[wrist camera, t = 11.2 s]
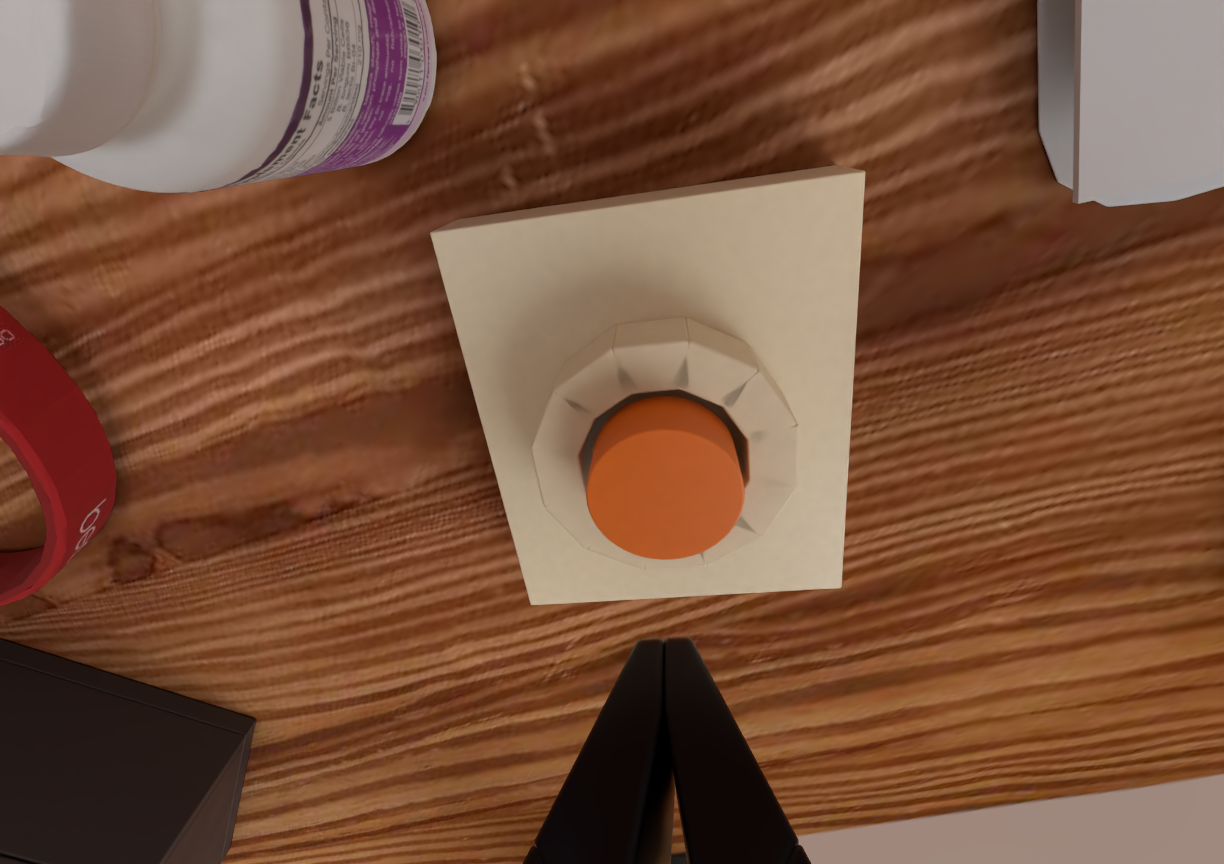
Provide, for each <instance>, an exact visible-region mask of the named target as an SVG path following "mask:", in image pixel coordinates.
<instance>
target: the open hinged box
mask: <svg viewBox="0 0 1224 864" xmlns="http://www.w3.org/2000/svg"><path fill="white" fill-rule="evenodd" d="M255 723H256V719H253V718H250V717H247V716H243V715H240V714H237V713H234V712H231V711H228V710H224V709H221V708H218V707H215V706H212V705H208V704H205V703H202V702H199V701H196V700H193V699H189V698H186V697H183V696H180V695H177V694H174V693H170V692H167V691H164V690H161V689H158V688H154V687H151V686H148V685H145V684H142V683H139V682H135V681H132V680H129V679H126V678H123V677H120V676H116V675H113V674H110V673H107V672H104V671H100V670H97V669H94V668H91V667H88V666H85V665H81V664H78V663H75V662H72V661H69V660H66V659H62V658H59V657H56V656H53V655H50V654H46V653H43V652H40V651H37V650H34V649H31V648H27V647H24V646H21V645H18V644H15V643H12V642H8V641H5V640H2V639H0V856H3V857H7V858H11V859H14V860H18V861H22V862H25V863H29V864H221V862H222V861H223V859H224V857H225V856H226V854H227V852H228V851H229V849H230V846H231V841H232V836H233V831H234V826H235V821H236V816H237V811H238V806H239V801H240V796H241V791H242V787H243V782H244V777H245V772H246V767H247V762H248V757H249V752H250V747H251V742H252V737H253V732H254V727H255Z"/></svg>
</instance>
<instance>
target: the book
mask: <svg viewBox="0 0 1224 864" xmlns="http://www.w3.org/2000/svg"><path fill="white" fill-rule="evenodd" d="M1037 37H1038V124H1039V134H1040V136H1041V139H1042V142H1043V145H1044V147H1045V150H1046V153H1047V155H1048V158H1049V161H1050V164H1051V166H1052V169H1053V172H1054V175H1055V177H1056V180H1057V182H1058V183H1060V184H1062V185H1064V186H1066V187H1068V188H1070V189H1072V190H1073V203H1077V204H1080V203H1084V202H1088V201H1093V200H1094V201H1096V202H1098V203H1100V204H1102V205H1104V206H1106V207H1111V206H1122V205H1133V204H1144V203H1154V202H1165V201H1176V200H1179V199H1183V198H1186V197H1189V196H1193V195H1196V194H1200V193H1203V192H1206V191H1210V190H1213V189H1216V188H1220V187H1223V186H1224V0H1037Z"/></svg>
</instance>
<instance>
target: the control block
mask: <svg viewBox="0 0 1224 864" xmlns="http://www.w3.org/2000/svg"><path fill="white" fill-rule="evenodd" d="M864 187H865V171H862V170H857V169H853V168H848V167H843V166H838V165H834V166H827V167H820V168H813V169H806V170H799V171H792V172H785V173H778V174H771V175H764V176H757V177H750V178H743V179H736V180H729V181H722V182H715V183H708V184H701V185H694V186H687V187H680V188H673V189H666V190H659V191H652V192H645V193H638V194H631V195H624V196H617V197H610V198H603V199H596V200H589V201H582V202H575V203H568V204H561V205H554V206H547V207H540V208H533V209H526V210H519V211H512V212H505V213H498V214H491V215H484V216H477V217H470V218H463V219H458V220H455V221H453V222H451V223H449V224H447V225H445V226H442V227H440V228H438V229H436V230H434V231H432V232H430V235H431V239H432V243H433V246H434V250H435V254H436V257H437V261H438V265H439V268H440V272H441V276H442V279H443V283H444V287H445V290H446V294H447V298H448V302H449V305H450V309H451V313H452V316H453V320H454V324H455V327H456V331H457V335H458V338H459V342H460V346H461V349H462V353H463V357H464V360H465V364H466V368H467V371H468V375H469V379H470V382H471V386H472V390H473V394H474V397H475V401H476V405H477V408H478V412H479V416H480V419H481V423H482V427H483V430H484V434H485V438H486V441H487V445H488V449H489V452H490V456H491V460H492V463H493V467H494V471H495V474H496V478H497V482H498V486H499V489H500V493H501V497H502V500H503V504H504V508H505V511H506V515H507V519H508V522H509V526H510V530H511V533H512V537H513V541H514V544H515V548H516V552H517V555H518V559H519V563H520V566H521V570H522V574H523V578H524V581H525V585H526V589H527V592H528V596H529V600H530V603H531V605H543V604H561V603H579V602H597V601H615V600H633V599H651V598H669V597H687V596H704V595H722V594H740V593H758V592H776V591H794V590H812V589H830V588H841V586H842V569H843V551H844V534H845V516H846V499H847V482H848V464H849V447H850V430H851V412H852V395H853V378H854V360H855V343H856V326H857V308H858V291H859V273H860V256H861V239H862V221H863V204H864ZM655 396H673V397H680V398H685V399H688V400H691V401H694V402H696V403H698V404H701V405H703V406H704V407H706V408H707V409H709V410H711V411H712V412H713V413H714V414H715V415H717V416H718V417H719V418H720V419H721V421H722V422H723V423H724V424H725V426H726V427H727V429H728V430H729V432H730V434H731V437H732V439H733V442H734V446H735V450H736V454H737V458H738V462H739V466H740V470H741V474H742V478H743V482H744V489H745V497H744V504H743V509H742V512H741V514H740V517H739V519H738V521H737V522H736V524H735V526H734V527H733V529H732V530H731V531H730V533H729V534H728V535H727V536H726V537H725V538H724V539H723V540H721V541H720V542H719V543H717V544H716V545H715V546H713V547H711V548H710V549H708V550H706V551H704V552H701V553H699V554H696V555H693V556H690V557H686V558H681V559H672V560H660V559H650V558H645V557H641V556H638V555H635V554H632V553H630V552H627V551H625V550H623V549H622V548H620V547H618V546H616V545H615V544H614V543H612V542H611V541H610V540H609V539H607V538H606V537H605V536H604V535H603V534H602V532H601V531H600V530H599V529H598V528H597V526H596V524H595V523H594V521H593V519H592V517H591V515H590V513H589V509H588V506H587V500H586V486H587V480H588V475H589V470H590V465H591V460H592V454H593V449H594V444H595V441H596V438H597V436H598V434H599V432H600V430H601V428H602V427H603V425H604V424H605V423H606V421H607V420H608V419H609V418H610V417H611V416H612V415H613V414H615V413H616V412H617V411H618V410H620V409H621V408H623V407H625V406H626V405H628V404H630V403H633V402H635V401H637V400H641V399H644V398H649V397H655Z"/></svg>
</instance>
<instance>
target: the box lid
mask: <svg viewBox="0 0 1224 864" xmlns="http://www.w3.org/2000/svg"><path fill="white" fill-rule="evenodd" d="M0 864H29V863H25V862H22V861H18V860H14V859H11V858H7V857H3V856H0Z"/></svg>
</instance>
